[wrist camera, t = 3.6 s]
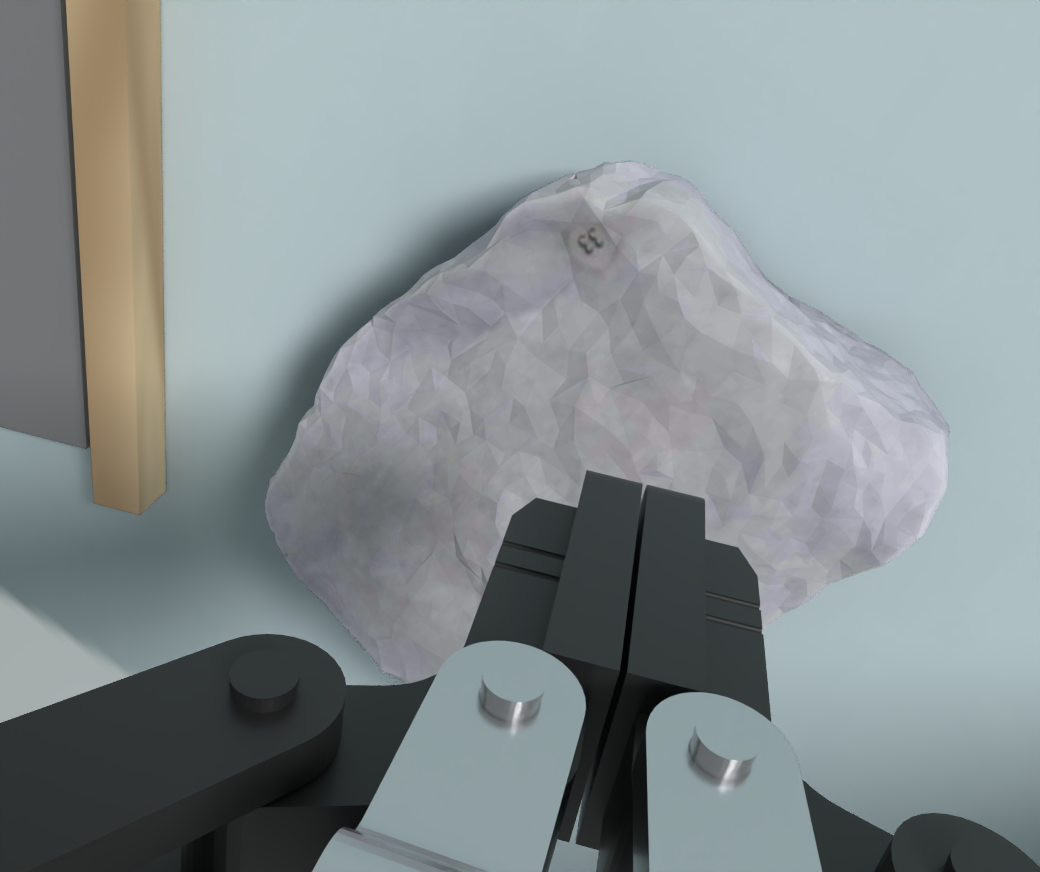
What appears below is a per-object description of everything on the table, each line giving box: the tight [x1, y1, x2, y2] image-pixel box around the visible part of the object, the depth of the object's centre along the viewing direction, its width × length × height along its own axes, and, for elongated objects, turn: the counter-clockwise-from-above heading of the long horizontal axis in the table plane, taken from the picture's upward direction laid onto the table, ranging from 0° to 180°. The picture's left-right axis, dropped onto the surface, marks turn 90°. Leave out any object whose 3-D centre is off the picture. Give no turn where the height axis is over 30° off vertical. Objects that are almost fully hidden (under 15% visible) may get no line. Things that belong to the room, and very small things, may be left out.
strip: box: [66, 0, 166, 515], centre depth 19 cm, size 1×14×1 cm, turn 170°
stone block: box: [264, 161, 950, 684], centre depth 19 cm, size 12×5×10 cm
